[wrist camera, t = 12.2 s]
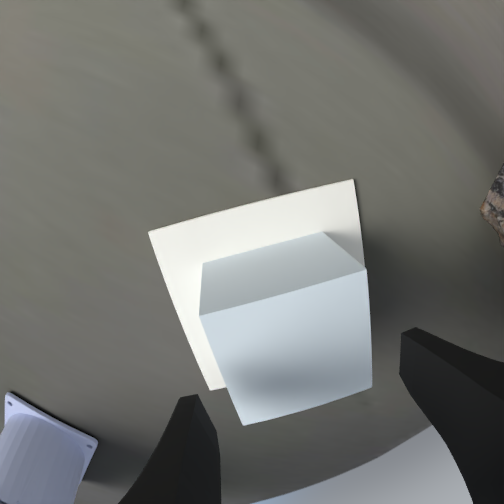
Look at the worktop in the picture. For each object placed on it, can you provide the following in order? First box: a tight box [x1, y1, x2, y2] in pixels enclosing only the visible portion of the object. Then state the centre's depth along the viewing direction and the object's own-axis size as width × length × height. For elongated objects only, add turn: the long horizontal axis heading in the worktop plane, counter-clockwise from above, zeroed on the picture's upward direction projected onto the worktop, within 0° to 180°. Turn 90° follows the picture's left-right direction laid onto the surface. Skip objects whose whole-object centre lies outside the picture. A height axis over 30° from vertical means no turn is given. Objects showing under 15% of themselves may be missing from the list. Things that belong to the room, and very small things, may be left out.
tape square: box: [148, 179, 365, 390], centre depth 16 cm, size 10×10×1 cm
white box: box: [199, 231, 372, 426], centre depth 14 cm, size 6×6×5 cm
